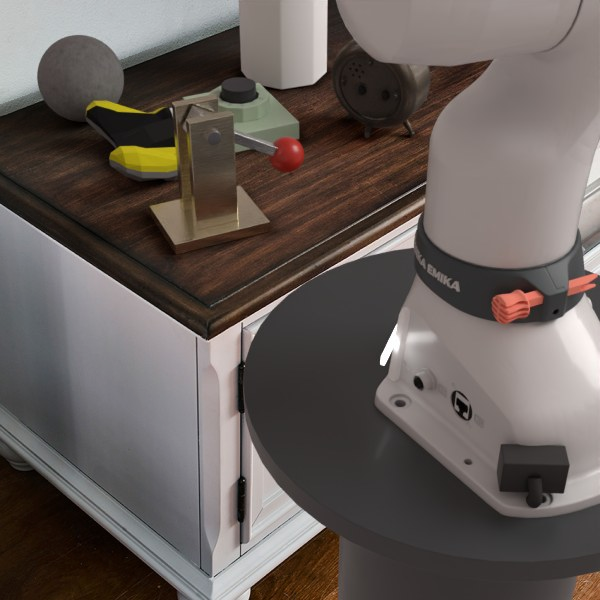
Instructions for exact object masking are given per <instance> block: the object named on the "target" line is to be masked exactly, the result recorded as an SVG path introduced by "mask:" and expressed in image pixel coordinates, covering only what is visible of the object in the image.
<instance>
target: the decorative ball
mask: <svg viewBox="0 0 600 600" xmlns="http://www.w3.org/2000/svg"><path fill="white" fill-rule="evenodd" d="M44 51H45V52H44V53H42V55H41V58H40V60H39V63H38V66H37V72H36V81H37V87H38V90H39V93H40V96H41V97H42V99H43V101H44V103H45V104H46V105H47V106H48V108H50V109H51V110H52V111H53V112H54V113H56V114H57V115H58V116H60V117H62V118H64V119H66V120H69V121H73V122H83V123H85V122H86V123H88V122H87V121H86V109H87V107H88V105H89V104H91V103H92V102H93V101H109V102H112V103H115V104H119V100H121V96H122V95H123V90H124V85H125V75H124V70H123V66H122V64H121V61H120V59H119V57H118V56H117V54H116V53H115V52H114V51H113V50H112V48H111V47H110V46H109V45H107V44H106V43H105V42H103V41H101V40H100V39H98V38H96V37H93V36H89V35H85V34H72V35H68V36H65V37H62V38H60V39H57V40H56V41H55V42H53V43H52V44H50V45H49V46H48V48H47V49H46V50H44Z"/></svg>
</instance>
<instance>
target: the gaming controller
mask: <svg viewBox="0 0 600 600" xmlns="http://www.w3.org/2000/svg"><path fill="white" fill-rule="evenodd" d="M86 121H87V122H86V123H88V124H89V125H90V126H91V127H92V128H93V129H94V130H96V132H98V134H100V136H102V137H103V138H105V140H107V142H109V143H110V144H111V145H112V146H113V147H114V148H115V149H114V150H113V151H111V152H110V154H109V158H108V160H109V166H110V167H111V168H113V169H114V170H116V171H117V172H119V173H120V174H121V175H123V176H125V177H127V178H128V179H132V180H134V181H137V182H148V181H154V180H164V181H165V182H166V181H168V182H169V181H171V182H172V181H178V172H177V160H176V147H175V135H174V123H173V111H172V107H169V106H163V107H159V108H157V109H156V110H154V111H150V112H144V111H142V110H139V109H135V108H131V107H129V106H125V105H121V104H119V103H117V104H115V103H112V102H109V101H93V102H92V103H91V104H89V105H88V107H87V109H86Z"/></svg>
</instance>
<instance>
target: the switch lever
mask: <svg viewBox="0 0 600 600" xmlns="http://www.w3.org/2000/svg"><path fill="white" fill-rule="evenodd" d="M210 114H215V113H212V112H209V111H206V110H204V109H201V108H198V107H195V106H192V108H191V110H190V112H189V114H188V116H187V118H186V119H190V118H195V117H200V116H205V115H210ZM182 128H183V129H184V130H185V132H186V133H187V129H186V120H185V122H184V124H183V126H182ZM234 138H235V143H236V144H239V145H241V146H244V147H247V148H250V150H253V151H256V152H259V153H262V154H265V155H268V159H269V162H270V164H271V166H272V167H273V168H274V169H275V170H277V171H278V172H280V173H292V172H295V171H296V170H298V169H299V168H300V167H301V166H302V164H303V162H304V159H305V150H304V146H303V145H302V144H301V142H300V141H299V139H297V140H296V139H294V138H292V137H281V138H279V139H277V140H275V141H274V142H273V143H271V142H268V141H265V140H262V139H259V138H257V137H254V136H251V135H248V134H245V133H243V132H240V131H237V130H234Z"/></svg>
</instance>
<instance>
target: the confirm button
mask: <svg viewBox="0 0 600 600" xmlns="http://www.w3.org/2000/svg"><path fill="white" fill-rule="evenodd" d="M220 86H221V90H222V100H223V101H225V102H228V103H232V104H244V103H249V102H252V101H254V100H255V99H256V83H255V82H254V81H253V80H251V79H249V78H247V77H230V78H226V79H225V80H223V81H222V82H221V84H220Z"/></svg>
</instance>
